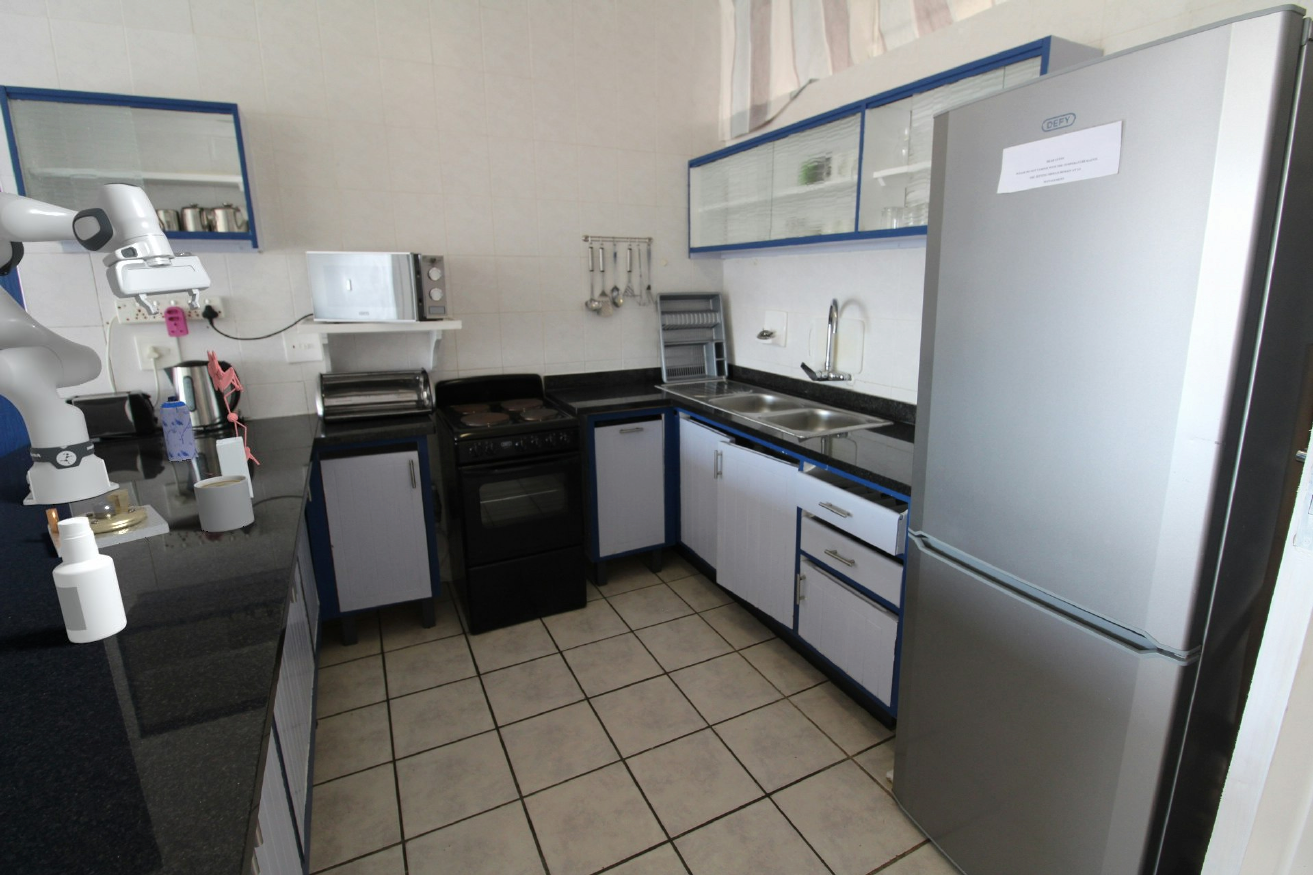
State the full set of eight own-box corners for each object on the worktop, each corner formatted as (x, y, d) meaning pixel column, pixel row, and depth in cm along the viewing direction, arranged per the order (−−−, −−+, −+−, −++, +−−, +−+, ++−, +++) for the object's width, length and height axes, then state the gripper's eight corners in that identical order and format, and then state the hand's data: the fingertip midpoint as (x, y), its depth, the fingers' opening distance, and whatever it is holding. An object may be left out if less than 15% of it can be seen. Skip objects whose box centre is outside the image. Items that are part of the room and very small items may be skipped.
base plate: (49, 533, 142) (42, 503, 141) (151, 512, 155) (145, 484, 153) (59, 557, 129) (51, 523, 127) (169, 532, 142) (163, 501, 140)
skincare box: (253, 497, 165) (244, 440, 161) (225, 502, 161) (215, 444, 158) (252, 490, 171) (243, 435, 168) (225, 494, 168) (215, 438, 165)
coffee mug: (255, 525, 145) (248, 482, 142) (202, 535, 139) (193, 490, 137) (251, 509, 155) (244, 469, 153) (201, 518, 150) (193, 476, 148)
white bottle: (92, 622, 102) (66, 513, 98) (137, 619, 103) (114, 511, 99) (56, 645, 96) (27, 530, 92) (106, 642, 96) (79, 527, 92)
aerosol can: (203, 457, 209) (191, 395, 204) (175, 462, 202) (162, 399, 198) (191, 454, 213) (180, 394, 208) (164, 459, 206) (151, 397, 202)
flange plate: (129, 529, 137) (124, 507, 136) (49, 538, 133) (43, 515, 132) (161, 506, 152) (157, 486, 150) (90, 513, 148) (85, 492, 147)
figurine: (249, 454, 211) (228, 345, 202) (269, 469, 192) (246, 350, 184) (193, 464, 201) (168, 351, 192) (207, 481, 182) (180, 356, 174)
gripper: (188, 255, 161) (212, 310, 164) (93, 260, 144) (121, 321, 146) (202, 247, 158) (226, 303, 161) (107, 251, 141) (135, 313, 143)
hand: (175, 311), depth 153 cm, fingers open, 8 cm apart
